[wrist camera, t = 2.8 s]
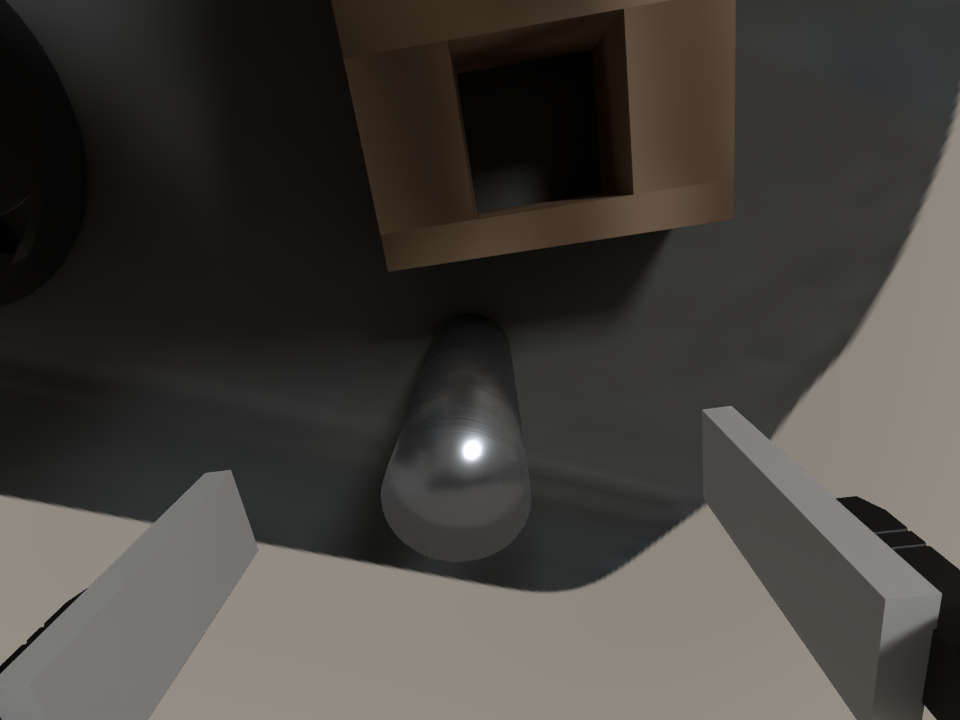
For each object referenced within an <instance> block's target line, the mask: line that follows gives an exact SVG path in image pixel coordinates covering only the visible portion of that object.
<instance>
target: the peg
mask: <svg viewBox="0 0 960 720" xmlns="http://www.w3.org/2000/svg"><path fill="white" fill-rule="evenodd" d="M381 503H382V509H383V512H384V515H385V518H386V520H387V522H388V524H389V526H390V527H391V529H392V530H393V532H394V533H395V534H396V535H397V536H398V537H399V539H400V540H402V541H403V542H404V543H405V544H406V545H408V546H409V547H411V548H412V549H413V550H415V551H417V552H419V553H421V554H423V555H426V556H428V557H431V558H434V559H438V560H444V561H452V562H463V561H472V560H478V559H481V558H485V557H487V556H490V555H492V554H495V553H496V552H498V551H500V550H502V549H503V548H504V547H506V546H507V545H509V544H510V543H511V542H512V541H513V540H514V539H515V538H516V537H517V536H518V534H519V533H520V532H521V530H522V529H523V527H524V525H525V523H526V521H527V519H528V516H529V512H530V508H531V489H530V482H529V475H528V468H527V461H526V454H525V447H524V440H523V433H522V427H521V420H520V413H519V406H518V399H517V392H516V385H515V378H514V371H513V364H512V357H511V350H510V344H509V341H508V338H507V336H506V334H505V332H504V331H503V330H502V328H501V327H500V326H499V325H498V324H497V323H495V322H494V321H492V320H491V319H489V318H487V317H484V316H481V315H477V314H463V315H459V316H456V317H453V318H451V319H449V320H448V321H446V322H445V323H444V324H443V325H442V326H441V327H440V328H439V329H438V330H437V332H436V333H435V335H434V338H433V340H432V343H431V346H430V349H429V351H428V354H427V357H426V360H425V363H424V366H423V368H422V371H421V374H420V377H419V380H418V382H417V385H416V388H415V391H414V394H413V397H412V399H411V402H410V405H409V408H408V411H407V414H406V416H405V419H404V422H403V425H402V428H401V431H400V433H399V436H398V439H397V442H396V445H395V448H394V450H393V453H392V456H391V459H390V462H389V465H388V467H387V470H386V473H385V476H384V479H383V483H382V488H381Z"/></svg>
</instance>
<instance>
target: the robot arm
mask: <svg viewBox="0 0 960 720" xmlns="http://www.w3.org/2000/svg"><path fill="white" fill-rule="evenodd" d="M84 200H85V163H84V156H83V148H82V143H81V138H80V134H79V130H78V126H77V123H76V119H75V116H74V113H73V110H72V107H71V104H70V102H69V99H68V97H67V94H66V92H65V89H64V87H63V85H62V83H61V81H60V79H59V77H58V75H57V73H56V71H55V69H54V67H53V65H52V64H51V62H50V60H49V58H48V57H47V55H46V53H45V52H44V50H43V49H42V47H41V45H40V44H39V42H38V41H37V40H36V38H35V37H34V35H33V34H32V32H31V31H30V30H29V28H28V27H27V26H26V24H25V23H24V22H23V21H22V19H21V18H20V17H19V16H18V14H17V13H16V12H15V11H14V10H13V9H12V8H11V6H10V5H9V4H8V3H7V2H6V1H5V0H0V306H3V305H6V304H9V303H12V302H14V301H17V300H19V299H21V298H23V297H25V296H26V295H28V294H30V293H31V292H33V291H34V290H36V289H37V288H38V287H40V286H41V285H42V284H44V283H45V282H46V281H47V280H48V279H49V278H50V277H51V276H52V275H53V274H54V273H55V271H56V270H57V269H58V268H59V266H60V265H61V264H62V262H63V261H64V259H65V258H66V256H67V254H68V253H69V251H70V249H71V247H72V245H73V243H74V240H75V238H76V235H77V232H78V229H79V226H80V222H81V218H82V213H83V207H84ZM702 439H703V493H704V500H705V501H706V503H707V504H708V506H709V507H710V508H711V510H712V511H713V513H714V514H715V516H716V517H717V518H718V520H719V521H720V523H721V524H722V526H723V527H724V529H725V530H726V532H727V533H728V534H729V536H730V537H731V539H732V540H733V542H734V543H735V545H736V546H737V547H738V549H739V550H740V552H741V553H742V555H743V556H744V558H745V559H746V560H747V562H748V563H749V565H750V566H751V568H752V569H753V570H754V572H755V573H756V575H757V576H758V578H759V579H760V581H761V582H762V583H763V585H764V586H765V588H766V589H767V591H768V592H769V593H770V595H771V596H772V598H773V599H774V601H775V602H776V604H777V605H778V607H779V608H780V609H781V611H782V612H783V614H784V615H785V617H786V618H787V620H788V621H789V622H790V624H791V625H792V627H793V628H794V630H795V631H796V633H797V634H798V635H799V637H800V638H801V640H802V641H803V643H804V644H805V645H806V647H807V648H808V650H809V651H810V653H811V654H812V656H813V657H814V659H815V660H816V661H817V663H818V664H819V666H820V667H821V669H822V670H823V671H824V673H825V674H826V676H827V677H828V679H829V680H830V682H831V683H832V685H833V686H834V687H835V689H836V690H837V692H838V693H839V695H840V696H841V697H842V699H843V700H844V702H845V703H846V705H847V706H848V708H849V709H850V711H851V712H852V713H853V715H854V716H855V718H856V719H857V720H922V715H923V710H924V705H925V706H926V707H927V708H928V710H929V711H930V712H931V713H932V714H933V716H934V717H935V718H936V719H937V720H960V570H959V569H958V568H957V567H955V566H954V565H953V564H952V563H950V562H949V561H948V560H947V559H945V558H944V557H943V556H942V555H941V554H939V553H938V552H937V551H935V550H934V549H933V548H932V547H931V546H926V543H925V542H924V541H923V540H922V539H921V538H919V537H918V536H917V535H916V534H914V533H913V532H912V531H908V530H907V527H906V526H904V525H903V524H902V523H901V522H899V521H898V520H897V519H896V518H894V517H893V516H892V515H891V514H890V513H888V512H887V511H886V510H884V509H882V508H880V507H878V506H876V505H874V504H871V503H870V502H867V501H865V500H863V499H861V498H859V497H857V496H854V497H845V498H836V499H835V498H834V497H833V496H832V495H831V494H830V493H828V492H827V491H826V490H825V489H824V488H823V487H821V485H819V484H818V483H817V482H816V481H815V480H814V479H813V478H812V477H810V476H809V475H808V474H807V473H806V472H805V471H804V470H803V469H802V468H800V467H799V466H798V465H797V464H796V463H795V462H794V461H793V460H791V459H790V458H789V457H788V456H787V455H786V454H785V453H784V452H782V451H781V450H780V449H779V448H778V447H777V446H776V445H775V444H773V443H772V442H771V441H770V440H769V439H768V438H767V437H766V436H764V435H763V434H762V433H761V432H760V431H759V430H758V429H757V428H755V427H754V426H753V425H752V424H751V423H750V422H749V421H748V420H746V419H745V418H744V417H743V416H742V415H741V414H740V413H739V412H738V411H736V410H735V409H734V408H733V407H732V406H728V407H720V408H712V409H704V410H702ZM257 552H258V547H257V545H256V542H255V539H254V536H253V533H252V530H251V527H250V524H249V521H248V518H247V516H246V513H245V510H244V507H243V504H242V501H241V498H240V495H239V492H238V489H237V486H236V484H235V481H234V478H233V475H232V472H231V470H226V471H218V472H210V473H205V474H204V475H203V476H202V477H201V478H200V479H199V480H198V481H197V482H196V483H195V484H194V485H193V486H192V487H190V488H189V489H188V490H187V491H186V492H185V493H184V494H183V495H182V496H181V497H180V498H179V499H178V500H177V501H176V502H175V503H174V504H173V505H172V506H171V507H170V508H169V509H168V510H167V511H166V512H165V513H164V514H163V515H162V516H161V517H160V518H159V519H158V520H157V521H156V522H155V523H154V524H153V525H152V526H151V527H150V528H149V529H148V530H147V531H146V532H145V533H144V534H143V535H142V536H140V538H139V539H137V540H136V541H135V542H134V543H133V544H132V545H131V546H130V547H129V548H128V549H127V550H126V551H125V552H124V553H123V554H122V555H121V556H120V557H119V558H118V559H117V560H116V561H115V562H114V563H113V564H112V565H111V566H110V567H109V568H108V569H107V570H106V571H105V572H104V573H103V574H102V575H101V576H100V577H99V578H98V579H97V580H96V581H95V582H94V583H93V584H92V585H91V586H89V587H88V588H87V589H85V590H84V591H83V592H81V593H79V594H78V595H77V596H75V597H74V598H72V599H71V600H69V601H68V602H66V603H65V604H64V605H63V606H62V607H61V608H60V609H59V610H58V611H57V612H56V613H55V614H54V615H53V616H52V617H51V618H50V619H49V620H48V621H46V622H45V623H44V627H41V628H39V629H38V630H37V631H36V632H35V633H34V634H33V635H32V636H31V637H30V638H29V639H28V640H27V643H26V644H24V645H22V646H21V647H19V648H18V649H17V650H16V651H15V652H14V653H13V654H12V655H11V656H10V657H9V658H8V659H7V660H6V661H5V662H4V663H3V664H2V665H1V666H0V720H148V719H149V717H150V716H151V714H152V713H153V711H154V710H155V708H156V707H157V705H158V703H159V702H160V700H161V699H162V697H163V696H164V694H165V693H166V691H167V689H168V688H169V687H170V685H171V684H172V682H173V680H174V679H175V677H176V676H177V674H178V673H179V671H180V670H181V668H182V667H183V665H184V664H185V662H186V660H187V659H188V657H189V656H190V654H191V653H192V651H193V650H194V648H195V647H196V645H197V644H198V642H199V641H200V639H201V638H202V636H203V634H204V633H205V631H206V630H207V628H208V626H209V625H210V624H211V622H212V621H213V619H214V618H215V616H216V615H217V613H218V611H219V610H220V608H221V607H222V605H223V604H224V602H225V601H226V599H227V597H228V596H229V595H230V593H231V591H232V590H233V588H234V587H235V585H236V584H237V582H238V581H239V579H240V578H241V576H242V575H243V573H244V572H245V570H246V568H247V567H248V565H249V564H250V562H251V561H252V559H253V558H254V556H255V555H256V553H257Z"/></svg>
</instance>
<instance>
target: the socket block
mask: <svg viewBox="0 0 960 720" xmlns="http://www.w3.org/2000/svg"><path fill="white" fill-rule="evenodd" d="M331 2H332V7H333V12H334V17H335V21H336V26H337V31H338V36H339V40H340V45H341V50H342V55H343V59H344V64H345V69H346V74H347V78H348V83H349V88H350V93H351V98H352V102H353V107H354V112H355V117H356V121H357V126H358V131H359V136H360V140H361V145H362V150H363V155H364V159H365V164H366V169H367V174H368V178H369V183H370V188H371V193H372V197H373V202H374V207H375V212H376V216H377V221H378V226H379V231H380V235H381V240H382V245H383V250H384V254H385V259H386V264H387V269H388V272H391V271H398V270H404V269H411V268H417V267H424V266H430V265H437V264H443V263H450V262H457V261H463V260H470V259H476V258H483V257H489V256H496V255H502V254H509V253H516V252H522V251H529V250H535V249H542V248H548V247H555V246H561V245H568V244H574V243H581V242H588V241H594V240H601V239H607V238H614V237H620V236H627V235H633V234H640V233H647V232H653V231H660V230H666V229H673V228H679V227H686V226H692V225H699V224H706V223H712V222H719V221H725V220H732V219H734V138H735V13H736V0H331ZM591 50H592V61H593V75H594V89H595V103H596V117H597V131H598V145H599V159H600V173H601V187H602V193H598V194H591V195H585V196H579V197H572V198H566V199H560V200H553V201H547V202H541V203H534V204H528V205H522V206H515V207H509V208H503V209H497V210H490V211H484V212H478V213H477V207H476V200H475V194H474V187H473V180H472V173H471V167H470V160H469V153H468V147H467V140H466V133H465V126H464V120H463V113H462V106H461V99H460V93H459V86H458V79H457V74H460V73H465V72H471V71H477V70H482V69H488V68H494V67H500V66H505V65H511V64H517V63H522V62H528V61H534V60H539V59H545V58H551V57H557V56H562V55H568V54H574V53H579V52H585V51H591Z"/></svg>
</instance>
